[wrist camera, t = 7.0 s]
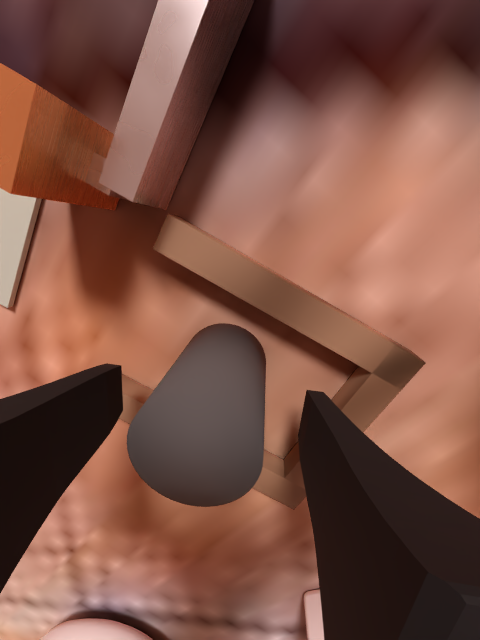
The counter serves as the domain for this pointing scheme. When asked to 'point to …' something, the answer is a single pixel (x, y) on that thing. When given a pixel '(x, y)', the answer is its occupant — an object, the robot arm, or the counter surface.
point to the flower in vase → (94, 631)
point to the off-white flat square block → (14, 240)
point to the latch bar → (123, 116)
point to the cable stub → (205, 421)
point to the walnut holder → (302, 315)
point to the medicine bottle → (313, 615)
